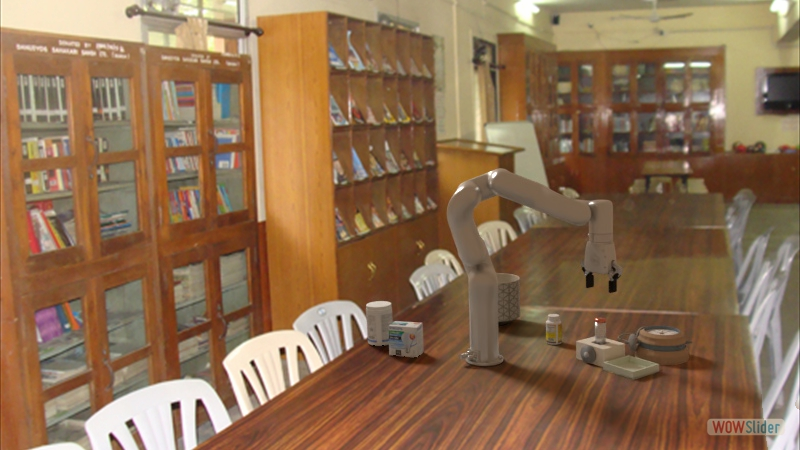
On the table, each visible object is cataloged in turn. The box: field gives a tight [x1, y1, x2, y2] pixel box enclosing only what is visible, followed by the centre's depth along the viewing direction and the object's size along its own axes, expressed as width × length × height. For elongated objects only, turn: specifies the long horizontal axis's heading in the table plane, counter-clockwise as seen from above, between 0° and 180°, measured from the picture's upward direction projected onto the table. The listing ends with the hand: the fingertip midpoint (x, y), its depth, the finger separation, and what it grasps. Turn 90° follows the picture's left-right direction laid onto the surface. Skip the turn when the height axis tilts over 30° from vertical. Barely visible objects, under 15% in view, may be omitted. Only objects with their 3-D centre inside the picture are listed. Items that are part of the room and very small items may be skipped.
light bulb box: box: [388, 320, 424, 358], centre depth 271 cm, size 11×7×11 cm, turn 70°
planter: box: [496, 272, 521, 327], centre depth 306 cm, size 19×19×18 cm
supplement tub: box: [365, 300, 394, 347], centre depth 284 cm, size 10×10×15 cm
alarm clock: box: [617, 325, 693, 366], centre depth 260 cm, size 17×9×23 cm
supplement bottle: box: [545, 313, 563, 346], centre depth 278 cm, size 6×6×10 cm
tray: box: [602, 354, 660, 381], centre depth 246 cm, size 12×12×2 cm
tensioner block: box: [575, 335, 626, 368], centre depth 257 cm, size 12×12×6 cm
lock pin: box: [594, 317, 607, 345], centre depth 257 cm, size 4×4×11 cm
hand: (601, 289), depth 255 cm, fingers open, 9 cm apart
